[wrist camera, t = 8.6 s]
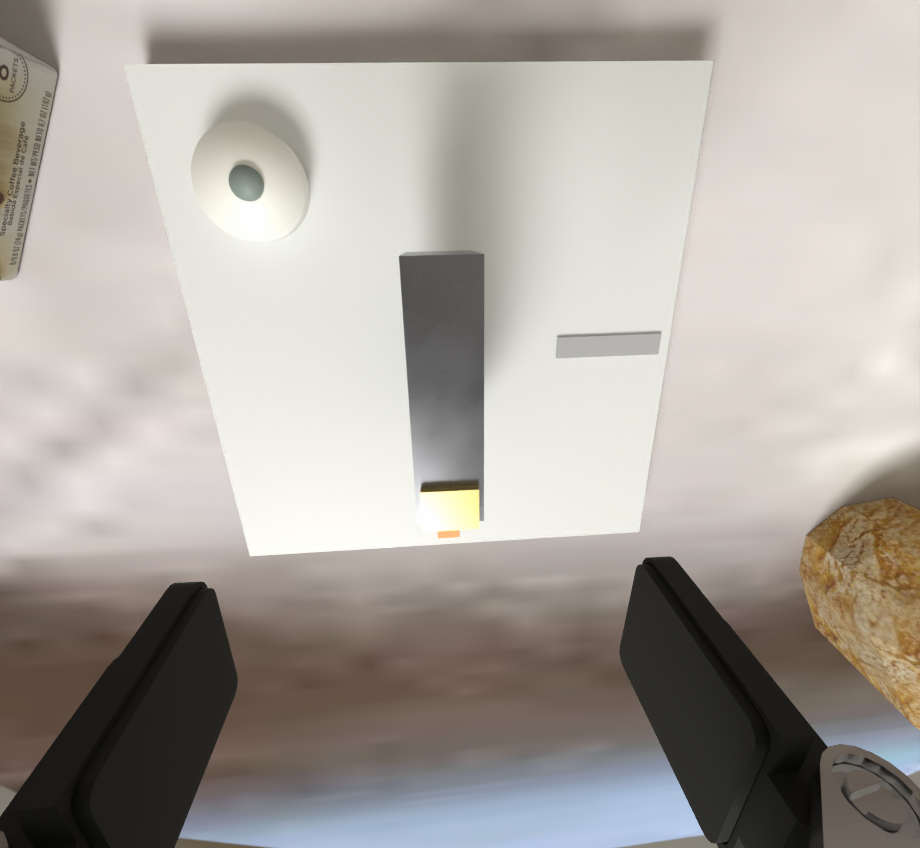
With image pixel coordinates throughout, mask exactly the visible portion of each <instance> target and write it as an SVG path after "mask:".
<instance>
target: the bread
mask: <svg viewBox="0 0 920 848" xmlns="http://www.w3.org/2000/svg"><path fill="white" fill-rule="evenodd" d="M799 572H800V575H801V579H802V582H803V586H804V589H805V593H806V596H807V600H808V603H809V607H810V610H811V614H812V617H813V621H814V624H815V627H816V628H817V629H818V630H819V631H820V632H821V633H822V634H823V635H824V636H825V637H826V638H827V639H828V640H829V641H830V642H831V643H832V644H833V645H834V646H835V647H836V648H837V649H838V650H839V651H840V652H841V653H842V654H843V655H844V656H845V657H846V658H847V659H848V660H849V661H850V662H851V663H852V664H853V665H854V666H855V667H856V668H857V669H858V670H859V671H860V672H861V673H862V674H863V675H864V676H865V677H866V678H867V679H868V680H869V681H870V682H871V683H872V684H873V685H874V686H875V687H876V688H877V689H878V690H879V691H880V692H881V693H882V694H883V695H884V696H885V697H886V698H887V699H888V700H889V701H890V702H891V703H892V704H893V705H894V706H895V707H896V708H897V709H898V710H899V711H900V712H901V713H902V714H903V715H904V716H905V717H906V718H907V719H908V720H909V721H910V722H911V723H912V724H913V725H914V726H915V727H917V728H918V729H919V730H920V509H918V508H915V507H913V506H911V505H908V504H906V503H904V502H901V501H899V500H897V499H894V498H892V497H891V498H885V499H880V500H875V501H869V502H864V503H859V504H853V505H848V506H843V507H841V508H840V509H838V510H837V511H836V512H835V513H833V514H832V515H831V516H830V517H828V518H827V519H826V520H825V521H823V522H822V523H821V524H820V525H819V526H817V527H816V528H815V529H814V530H812V531H811V532H810V533H809V534H807V535H806V538H805V543H804V548H803V553H802V558H801V563H800V568H799Z"/></svg>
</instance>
